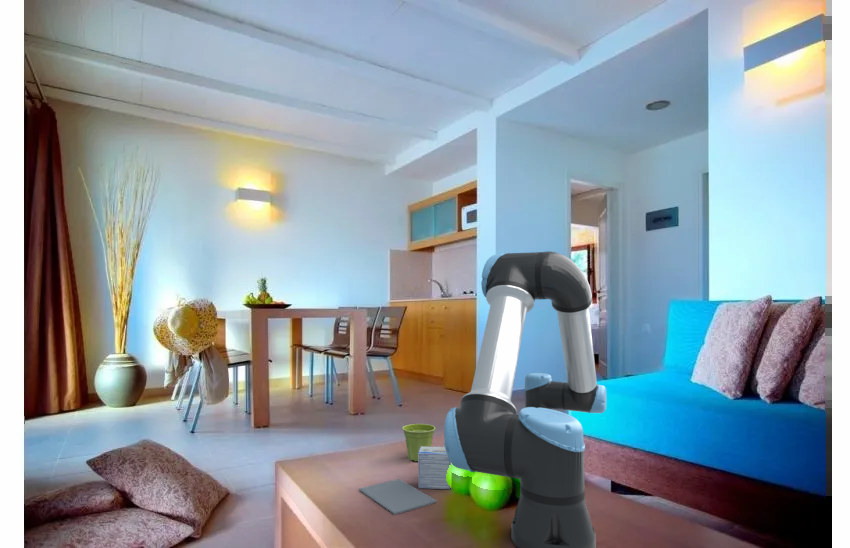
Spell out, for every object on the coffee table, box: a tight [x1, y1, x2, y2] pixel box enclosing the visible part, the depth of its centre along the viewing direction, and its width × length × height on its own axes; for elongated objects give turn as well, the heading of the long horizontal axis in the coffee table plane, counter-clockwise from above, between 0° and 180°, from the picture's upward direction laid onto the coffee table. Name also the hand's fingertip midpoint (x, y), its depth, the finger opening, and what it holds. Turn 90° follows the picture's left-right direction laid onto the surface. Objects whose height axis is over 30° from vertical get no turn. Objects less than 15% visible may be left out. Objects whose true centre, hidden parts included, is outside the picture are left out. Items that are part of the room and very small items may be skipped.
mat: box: [358, 478, 438, 516], centre depth 110 cm, size 16×11×1 cm
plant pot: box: [401, 423, 436, 462], centre depth 137 cm, size 9×9×9 cm
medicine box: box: [417, 446, 451, 490], centre depth 116 cm, size 8×4×9 cm, turn 84°
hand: (445, 449), depth 119 cm, fingers closed
